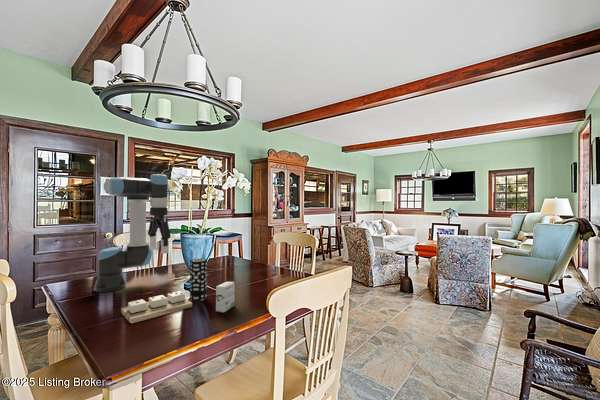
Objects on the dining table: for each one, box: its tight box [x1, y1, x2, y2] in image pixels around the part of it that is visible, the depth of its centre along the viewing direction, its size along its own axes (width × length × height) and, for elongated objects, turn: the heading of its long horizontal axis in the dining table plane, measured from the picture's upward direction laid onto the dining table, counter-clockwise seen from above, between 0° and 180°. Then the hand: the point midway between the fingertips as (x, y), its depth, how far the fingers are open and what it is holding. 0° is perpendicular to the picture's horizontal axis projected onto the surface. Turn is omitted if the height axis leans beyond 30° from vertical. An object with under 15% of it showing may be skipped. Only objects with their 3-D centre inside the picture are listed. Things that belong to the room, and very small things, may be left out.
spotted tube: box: [189, 258, 208, 302], centre depth 144 cm, size 8×8×20 cm
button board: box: [120, 296, 193, 324], centre depth 129 cm, size 16×26×2 cm, turn 135°
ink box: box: [215, 281, 236, 313], centre depth 131 cm, size 9×5×12 cm, turn 158°
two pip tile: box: [148, 294, 167, 309], centre depth 129 cm, size 6×6×3 cm
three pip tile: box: [167, 290, 186, 304], centre depth 135 cm, size 6×6×3 cm
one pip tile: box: [127, 299, 148, 314], centre depth 123 cm, size 6×6×3 cm
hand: (158, 251), depth 131 cm, fingers open, 13 cm apart
